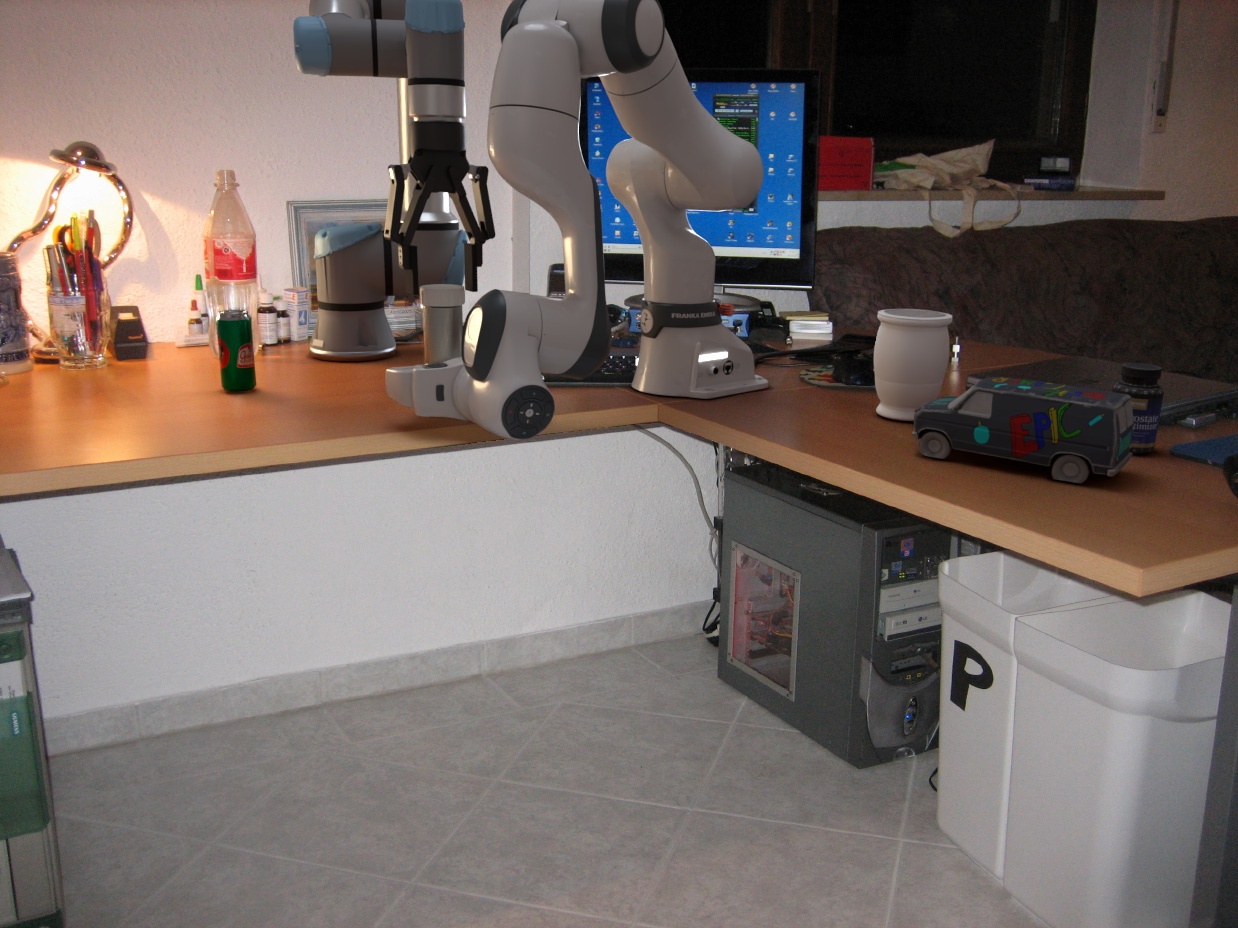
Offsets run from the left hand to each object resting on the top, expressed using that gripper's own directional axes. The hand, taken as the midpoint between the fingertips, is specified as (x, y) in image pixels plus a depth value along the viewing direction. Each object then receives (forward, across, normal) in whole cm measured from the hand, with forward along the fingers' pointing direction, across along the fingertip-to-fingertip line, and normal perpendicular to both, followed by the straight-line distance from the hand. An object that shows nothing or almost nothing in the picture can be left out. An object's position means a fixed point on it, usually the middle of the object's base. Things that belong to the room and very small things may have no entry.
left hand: (442, 292), depth 149 cm
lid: (0, 0, 0) cm, 0 cm away
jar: (+17, -59, +32) cm, 69 cm away
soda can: (+17, +22, -28) cm, 40 cm away
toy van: (+18, -53, +56) cm, 79 cm away
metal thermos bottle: (+17, 0, 0) cm, 17 cm away
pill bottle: (+18, -72, +59) cm, 95 cm away
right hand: (+11, 0, -1) cm, 11 cm away
